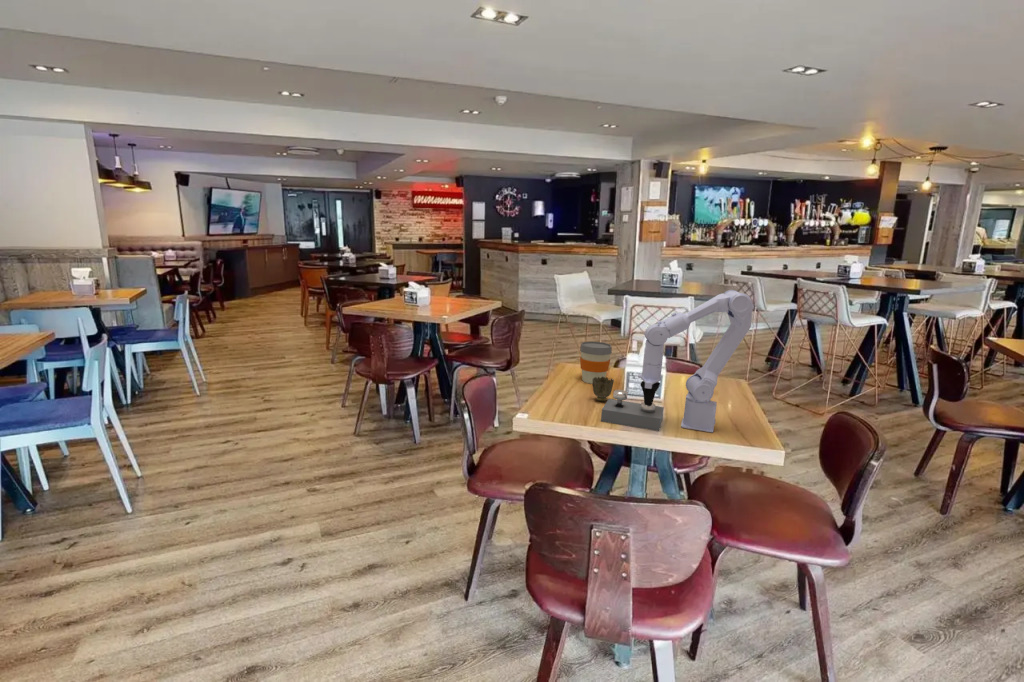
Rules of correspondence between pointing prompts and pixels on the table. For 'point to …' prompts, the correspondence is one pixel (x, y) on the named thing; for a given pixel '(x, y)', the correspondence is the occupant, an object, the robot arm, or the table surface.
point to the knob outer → (620, 396)
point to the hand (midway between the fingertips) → (648, 404)
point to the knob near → (647, 408)
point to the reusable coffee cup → (594, 360)
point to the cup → (602, 388)
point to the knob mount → (631, 415)
